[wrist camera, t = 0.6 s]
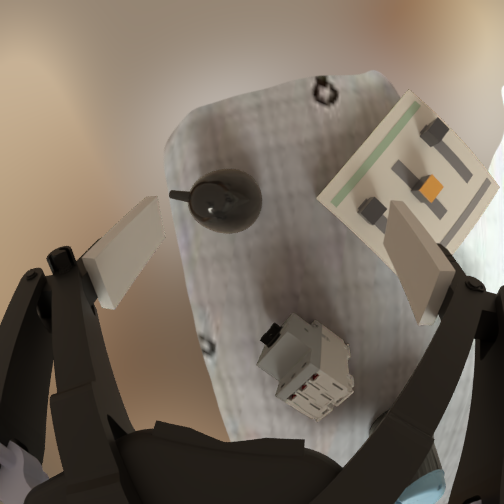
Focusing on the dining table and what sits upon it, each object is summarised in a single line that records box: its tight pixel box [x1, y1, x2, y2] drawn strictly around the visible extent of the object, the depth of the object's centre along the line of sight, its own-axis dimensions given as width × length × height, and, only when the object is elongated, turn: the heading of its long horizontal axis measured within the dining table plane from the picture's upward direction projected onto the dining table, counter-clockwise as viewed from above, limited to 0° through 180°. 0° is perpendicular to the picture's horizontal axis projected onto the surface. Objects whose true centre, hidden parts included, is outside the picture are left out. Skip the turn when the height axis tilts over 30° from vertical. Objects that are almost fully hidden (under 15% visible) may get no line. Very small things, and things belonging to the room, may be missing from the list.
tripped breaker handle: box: [410, 174, 443, 203], centre depth 34 cm, size 2×3×5 cm
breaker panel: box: [316, 89, 500, 276], centre depth 37 cm, size 22×24×9 cm
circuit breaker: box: [257, 312, 354, 422], centre depth 42 cm, size 8×14×15 cm, turn 55°
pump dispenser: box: [169, 169, 262, 234], centre depth 41 cm, size 10×10×15 cm
